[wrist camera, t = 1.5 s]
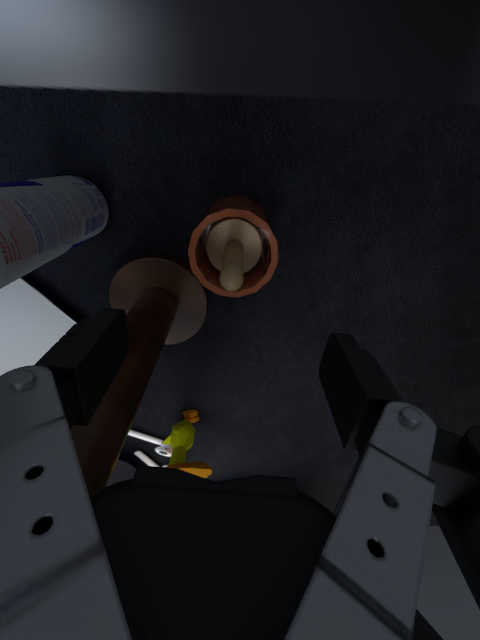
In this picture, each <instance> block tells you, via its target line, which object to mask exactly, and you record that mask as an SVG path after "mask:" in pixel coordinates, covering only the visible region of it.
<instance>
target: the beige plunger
mask: <svg viewBox="0 0 480 640" xmlns="http://www.w3.org/2000/svg"><path fill="white" fill-rule="evenodd" d="M206 252H207V256H208V258H209V260H210V262H211V263H212V264H213V265H214V267H216V268H217V269H218V270H220V271H221V273H220V283H221V285H222V287H223V288H224V289H226V290H228V291H235V290H237V289H239V288H240V287H241V286H242V284H243V273H245V272H247V271H249V270H250V269H252V268H253V267H254V266H255V265H256V264H257V262H258V261H259V259H260V256H261V253H262V241H261V232H260V227H258V226H257V225H256V224H254V223H253V222H251V221H250V220H248V219H246V218H238V217H230V216H228V217H225V218H223V219H220V220H217V221H214V222H212V224H211V227H210V229H209V234H208V237H207V241H206Z"/></svg>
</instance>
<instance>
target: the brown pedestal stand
mask: <svg viewBox="0 0 480 640" xmlns="http://www.w3.org/2000/svg"><path fill="white" fill-rule="evenodd" d="M109 299H110V305H111V308H115V309H123V310H125V312H126V320H127V332H128V353H127V356H126V359H125V361H124V362H123V364H122V366H121V368H120V369H119V371H118V373H117V375H116V376H115V378H114V380H113V382H112V383H111V385H110V387H109V389H108V390H107V392H106V394H105V396H104V397H103V399H102V401H101V403H100V404H99V406H98V408H97V410H96V411H95V413H94V415H93V417H92V418H91V420H90V422H89V424H88V425H87V426H78V425H73V426H72V428H71V430H70V433H71V436H72V440H73V443H74V447H75V450H76V453H77V457H78V460H79V464H80V467H81V471H82V474H83V477H84V481H85V484H86V488H87V491H88V494H89V497H90V496H92V495H93V494H95V493H96V492H98V491H100V490H102V489H104V488H106V486H107V484H108V481H109V479H110V477H111V474H112V472H113V469H114V467H115V464H116V462H117V459H118V457H119V454H120V452H121V449H122V447H123V444H124V442H125V440H126V437H127V435H128V432H129V430H130V427H131V425H132V422H133V420H134V417H135V415H136V412H137V410H138V407H139V405H140V402H141V400H142V398H143V395H144V393H145V390H146V388H147V385H148V383H149V380H150V378H151V375H152V373H153V370H154V368H155V365H156V363H157V360H158V358H159V356H160V353H161V351H162V348H163V346H164V345H167V344H175V343H179V342H182V341H185V340H187V339H189V338H190V337H192V336H193V335H194V334H196V333H197V332H198V330H199V329H200V328H201V327H202V325H203V323H204V321H205V318H206V315H207V310H208V295H207V291H206V288H205V287H204V286H203V285H202V284H201V283H200V281H199V280H198V279H197V277H196V276H195V275H194V273H193V272H192V270H191V267H189V266H188V265H187V264H185V263H184V262H182V261H180V260H178V259H176V258H173V257H170V256H167V255H161V254H147V255H142V256H139V257H136V258H134V259H132V260H130V261H129V262H127V263H126V264H125V265H124V266H123V267H122V268H121V269H120V270H119V271H118V272H117V273H116V275H115V276H114V278H113V280H112V282H111V285H110V291H109Z"/></svg>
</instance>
